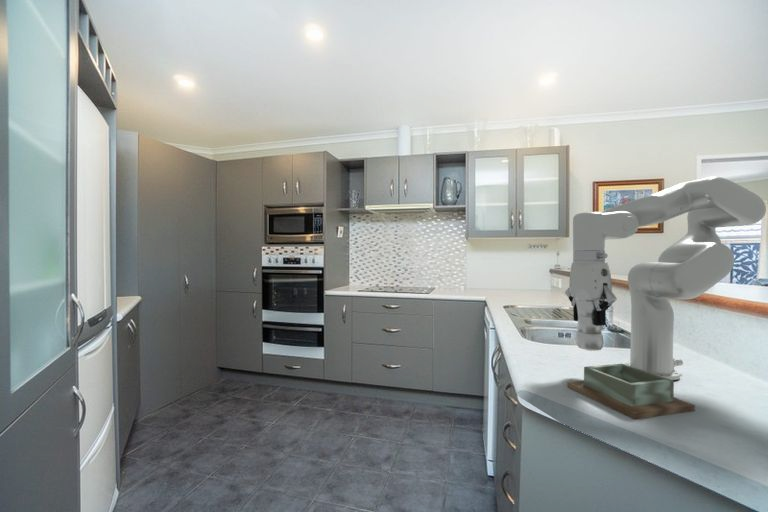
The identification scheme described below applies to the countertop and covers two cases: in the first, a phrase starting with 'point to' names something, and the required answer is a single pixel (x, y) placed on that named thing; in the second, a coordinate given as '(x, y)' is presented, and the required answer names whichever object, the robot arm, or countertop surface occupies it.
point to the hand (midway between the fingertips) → (589, 322)
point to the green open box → (630, 391)
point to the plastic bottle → (587, 323)
